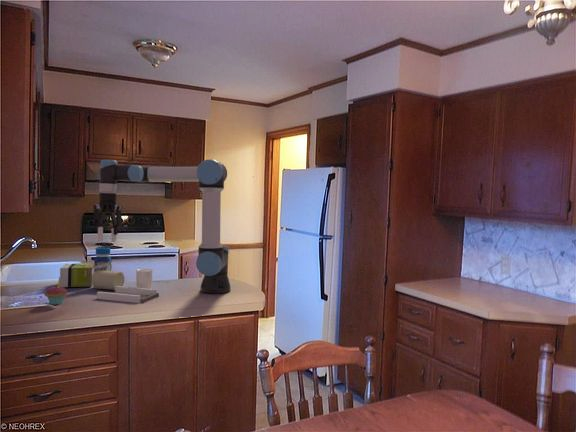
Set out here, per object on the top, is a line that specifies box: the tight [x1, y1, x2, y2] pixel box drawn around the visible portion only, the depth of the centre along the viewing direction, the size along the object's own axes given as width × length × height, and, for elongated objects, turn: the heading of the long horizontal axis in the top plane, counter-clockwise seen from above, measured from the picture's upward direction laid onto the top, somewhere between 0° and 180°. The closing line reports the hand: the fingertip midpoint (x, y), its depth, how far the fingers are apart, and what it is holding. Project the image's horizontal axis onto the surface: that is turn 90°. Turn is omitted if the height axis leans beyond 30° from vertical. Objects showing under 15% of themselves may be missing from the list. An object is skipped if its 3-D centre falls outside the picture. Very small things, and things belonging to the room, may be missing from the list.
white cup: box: [135, 268, 154, 289], centre depth 212 cm, size 8×8×10 cm
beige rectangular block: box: [92, 270, 125, 291], centre depth 210 cm, size 9×9×12 cm
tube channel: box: [96, 285, 157, 304], centre depth 197 cm, size 21×15×3 cm
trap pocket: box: [140, 292, 160, 304], centre depth 195 cm, size 6×14×2 cm, turn 168°
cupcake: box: [44, 276, 68, 306], centre depth 181 cm, size 9×8×12 cm
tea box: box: [59, 262, 95, 288], centre depth 219 cm, size 15×10×15 cm
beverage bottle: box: [93, 246, 113, 290], centre depth 215 cm, size 8×8×20 cm
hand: (106, 241), depth 202 cm, fingers open, 6 cm apart
